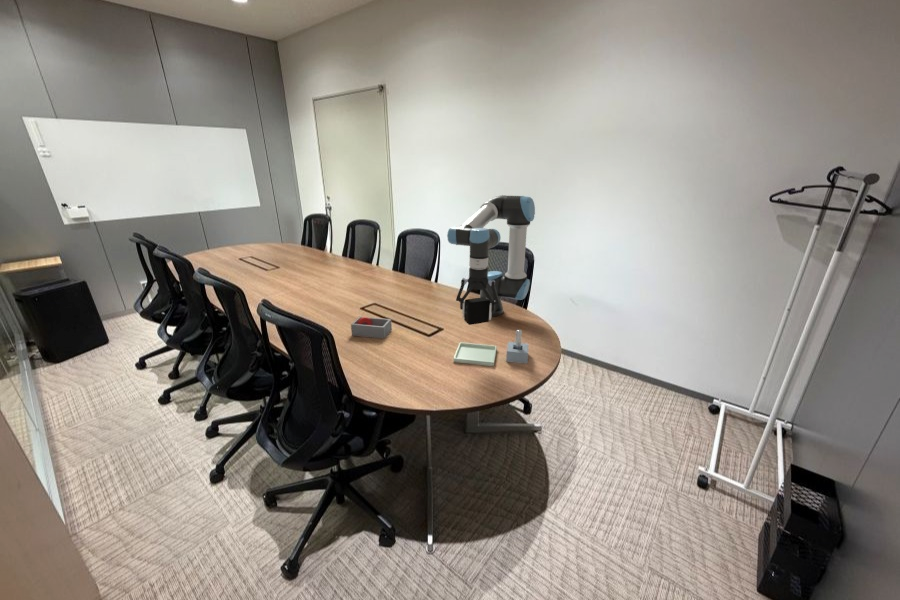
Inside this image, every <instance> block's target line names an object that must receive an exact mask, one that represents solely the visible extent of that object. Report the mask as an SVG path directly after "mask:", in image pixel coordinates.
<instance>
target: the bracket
mask: <svg viewBox="0 0 900 600" xmlns="http://www.w3.org/2000/svg"><path fill="white" fill-rule="evenodd" d="M362 317H363V318H361V319H359V321H358V324H362V323H363V322H367V325H372V324H371V320H370V319H369V318H367V317H368V316H362Z"/></svg>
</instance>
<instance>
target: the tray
mask: <svg viewBox="0 0 900 600" xmlns="http://www.w3.org/2000/svg"><path fill="white" fill-rule="evenodd" d="M497 348H498V345H491V344H480V343H471V342H462V341H461V342H459V343H458V345H457V348H456V351H455V352H454V356H453V360H452V361H453V363H458V364H459V363H461V364H470V365H478V366H487V367H488V366H489V367H494V366H495V361H496V354H497V351H498V350H497Z"/></svg>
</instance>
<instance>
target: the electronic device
mask: <svg viewBox="0 0 900 600" xmlns="http://www.w3.org/2000/svg"><path fill="white" fill-rule="evenodd" d="M464 301H465V309H464V318H463V320H464V322H465V323H466V324H467V325H469V326H472V325H477V324H483V323H484V324H485V323H489V321H490V320H489V308H490V301H489V299H487V298H486V297H481V298H480V297H476V298H474V297H473V298H467V299H466V298H465V300H464Z"/></svg>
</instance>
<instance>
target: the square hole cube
mask: <svg viewBox="0 0 900 600" xmlns="http://www.w3.org/2000/svg"><path fill="white" fill-rule="evenodd" d="M506 346H507V347H506V359H505V362H507V363H508V362H509V363H517V364H528V362H529V361H528V360H529V343H526V342H521V349H520V350H518V349H515V341H514V342H513V341H507V345H506Z"/></svg>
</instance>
